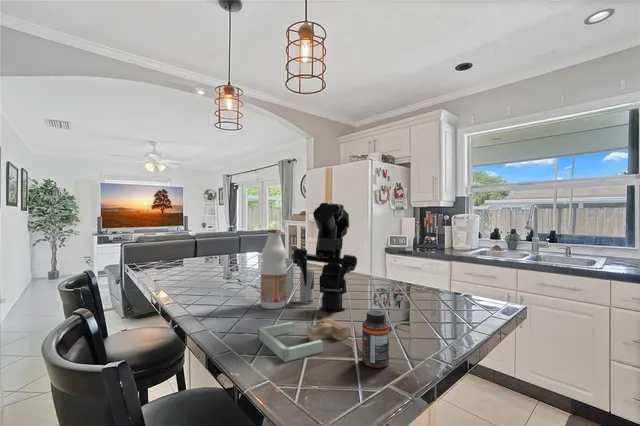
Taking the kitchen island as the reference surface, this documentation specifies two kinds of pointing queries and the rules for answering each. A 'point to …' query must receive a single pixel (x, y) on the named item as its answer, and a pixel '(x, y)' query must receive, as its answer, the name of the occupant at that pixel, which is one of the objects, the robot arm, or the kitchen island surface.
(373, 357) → the supplement bottle
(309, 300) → the energy drink
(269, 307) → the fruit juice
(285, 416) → the kitchen island surface
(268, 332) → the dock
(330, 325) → the t block
